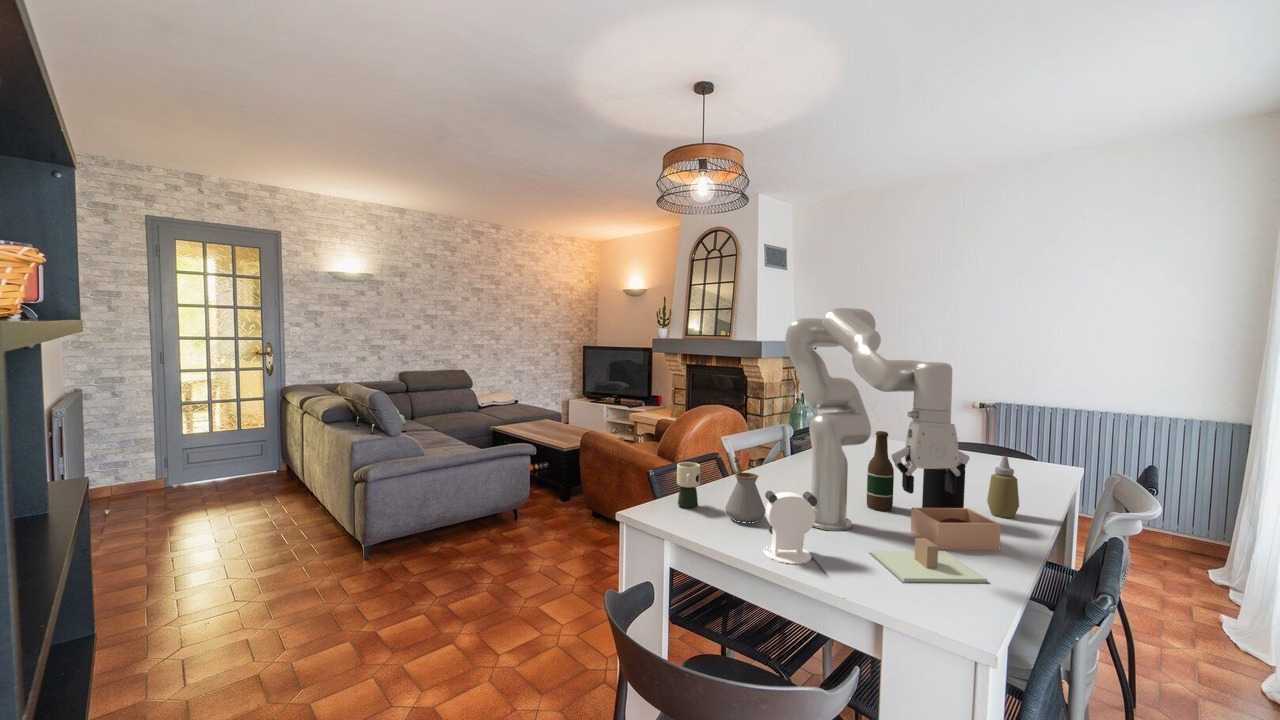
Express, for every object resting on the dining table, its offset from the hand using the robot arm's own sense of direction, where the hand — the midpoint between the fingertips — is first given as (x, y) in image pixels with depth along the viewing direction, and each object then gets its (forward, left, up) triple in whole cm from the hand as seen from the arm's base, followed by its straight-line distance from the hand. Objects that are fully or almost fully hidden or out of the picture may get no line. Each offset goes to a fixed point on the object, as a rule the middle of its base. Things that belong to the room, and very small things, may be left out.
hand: (929, 492), depth 120 cm
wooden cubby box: (+17, +17, -18) cm, 30 cm away
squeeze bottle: (+46, +39, -18) cm, 63 cm away
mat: (0, 0, -18) cm, 18 cm away
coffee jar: (+25, +35, -18) cm, 47 cm away
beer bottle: (+11, +45, -18) cm, 50 cm away
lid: (0, 0, -17) cm, 17 cm away
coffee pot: (-34, +38, -18) cm, 54 cm away
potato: (+17, +17, -18) cm, 30 cm away
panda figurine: (-29, +8, -18) cm, 35 cm away
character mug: (-49, +45, -18) cm, 69 cm away
